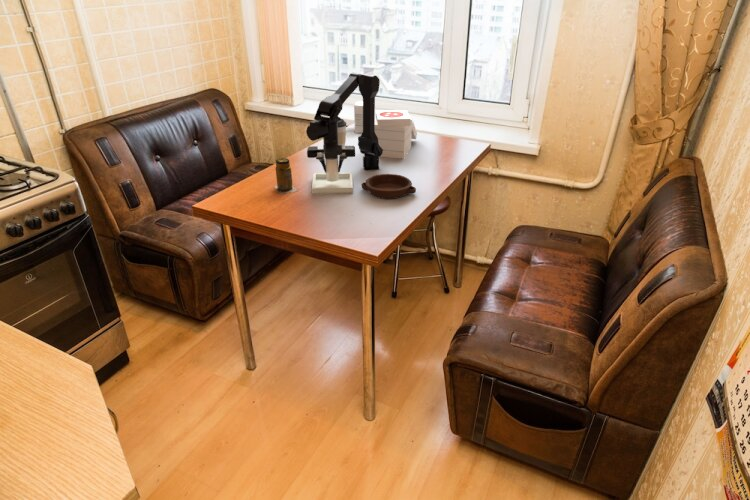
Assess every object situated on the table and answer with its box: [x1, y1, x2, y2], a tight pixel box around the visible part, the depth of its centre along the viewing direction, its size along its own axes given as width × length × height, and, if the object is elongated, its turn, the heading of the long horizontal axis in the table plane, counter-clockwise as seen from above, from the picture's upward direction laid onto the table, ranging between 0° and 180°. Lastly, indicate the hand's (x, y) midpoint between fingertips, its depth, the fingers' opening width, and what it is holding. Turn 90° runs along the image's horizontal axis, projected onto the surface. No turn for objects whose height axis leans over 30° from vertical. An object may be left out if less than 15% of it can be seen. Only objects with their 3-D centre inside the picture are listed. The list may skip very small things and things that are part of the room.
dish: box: [361, 173, 417, 200], centre depth 189 cm, size 18×22×5 cm
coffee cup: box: [337, 118, 347, 149], centre depth 230 cm, size 9×9×15 cm
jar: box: [324, 155, 340, 182], centre depth 192 cm, size 5×5×10 cm
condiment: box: [273, 157, 298, 195], centre depth 190 cm, size 7×8×12 cm
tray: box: [311, 172, 354, 195], centre depth 195 cm, size 16×16×2 cm
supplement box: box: [353, 100, 363, 134], centre depth 257 cm, size 9×9×15 cm
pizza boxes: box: [375, 109, 418, 160], centre depth 232 cm, size 19×30×18 cm, turn 163°
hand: (332, 172), depth 193 cm, fingers closed on jar, 5 cm apart
